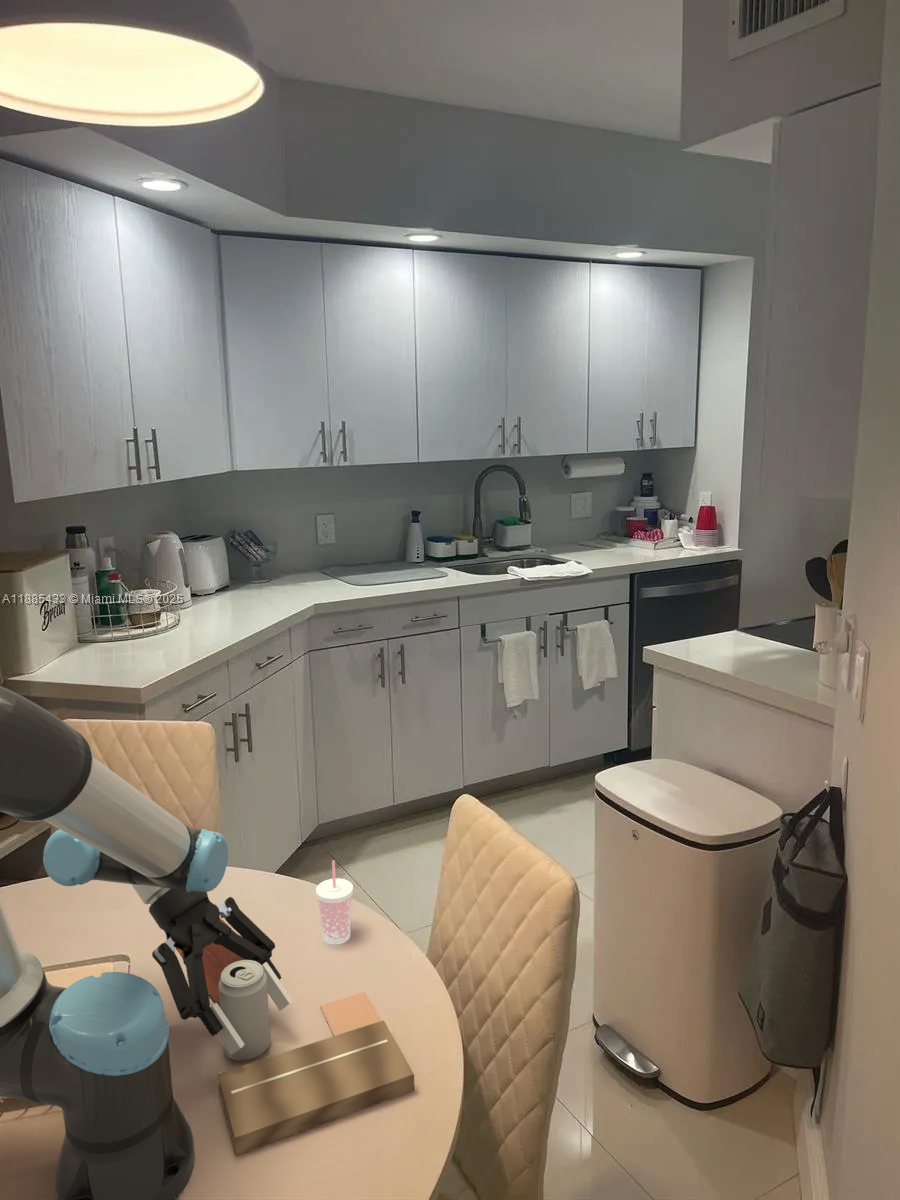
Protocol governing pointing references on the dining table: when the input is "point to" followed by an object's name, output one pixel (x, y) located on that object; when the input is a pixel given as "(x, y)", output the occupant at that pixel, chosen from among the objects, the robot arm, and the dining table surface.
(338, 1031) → the end tile
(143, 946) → the dining table surface
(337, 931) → the beverage cup
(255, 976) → the beverage can
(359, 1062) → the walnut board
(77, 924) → the dining table surface
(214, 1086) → the dining table surface
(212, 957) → the wooden tablet
